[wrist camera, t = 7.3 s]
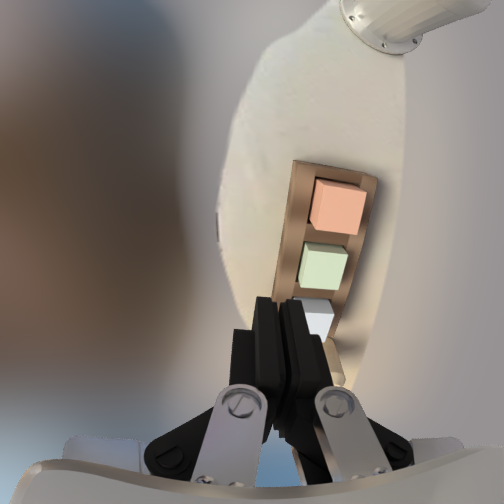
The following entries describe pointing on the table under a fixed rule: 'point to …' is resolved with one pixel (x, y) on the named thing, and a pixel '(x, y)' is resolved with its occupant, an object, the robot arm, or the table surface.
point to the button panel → (318, 235)
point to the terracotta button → (336, 206)
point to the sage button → (321, 265)
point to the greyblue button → (317, 315)
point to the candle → (334, 363)
